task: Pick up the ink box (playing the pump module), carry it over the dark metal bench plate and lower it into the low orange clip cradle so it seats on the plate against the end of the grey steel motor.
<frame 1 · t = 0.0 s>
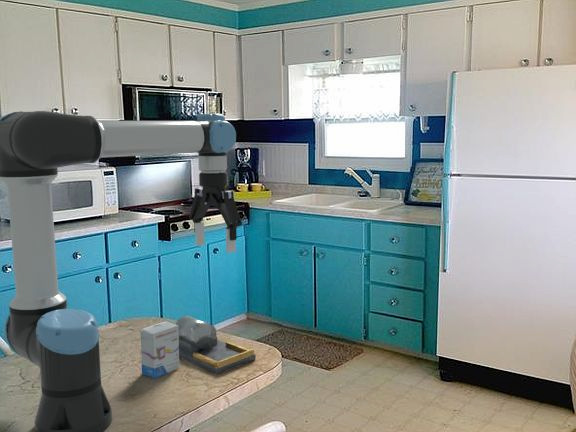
hand: (215, 248, 164), 28 cm above the table, fingers open, 13 cm apart
motor unit: (208, 354, 161), on the table
ink box: (161, 372, 151), on the table
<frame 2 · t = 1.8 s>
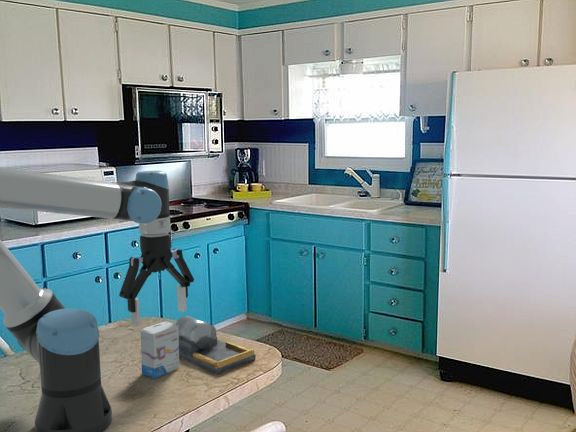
hand: (159, 317, 149), 14 cm above the table, fingers open, 13 cm apart
nothing on the table moved.
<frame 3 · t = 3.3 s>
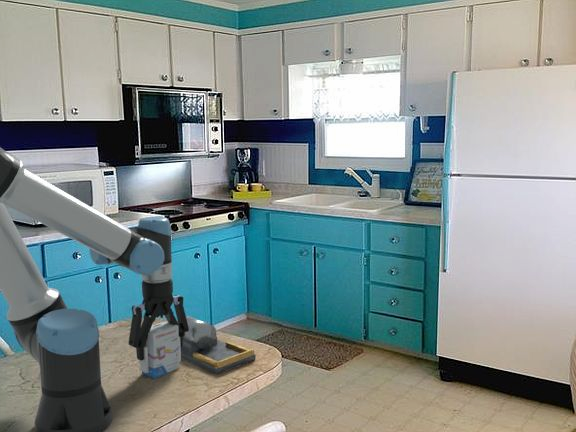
hand: (160, 365, 150), 1 cm above the table, fingers closed on ink box, 9 cm apart
ink box: (161, 372, 151), on the table, touching gripper
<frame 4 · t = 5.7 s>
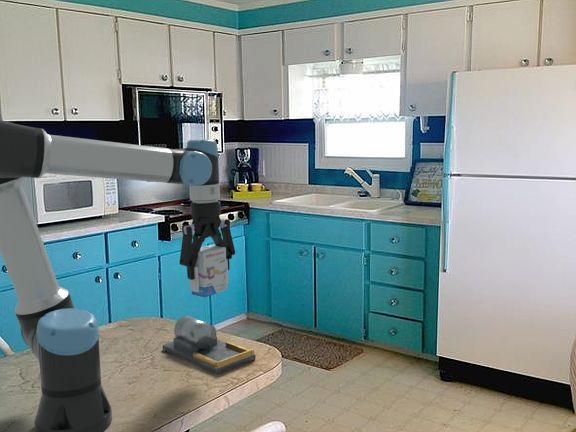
hand: (209, 286, 154), 20 cm above the table, fingers closed on ink box, 9 cm apart
ink box: (210, 293, 154), point 19 cm above the table, touching gripper
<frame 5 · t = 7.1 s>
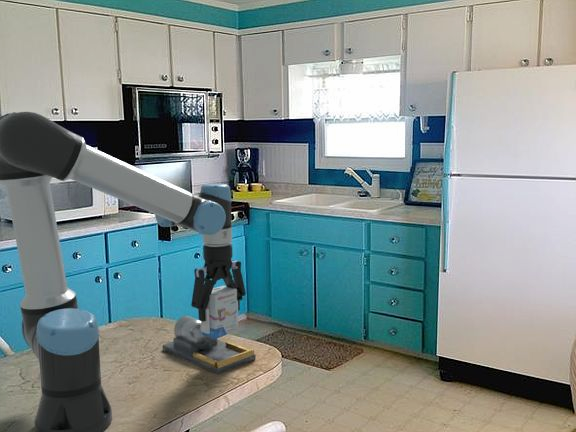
hand: (220, 327, 156), 9 cm above the table, fingers closed on ink box, 9 cm apart
ink box: (220, 333, 156), point 7 cm above the table, touching gripper
when the fingers open (5 cm above the table, at t = 8.2 s): ink box drops 2 cm, resting on motor unit.
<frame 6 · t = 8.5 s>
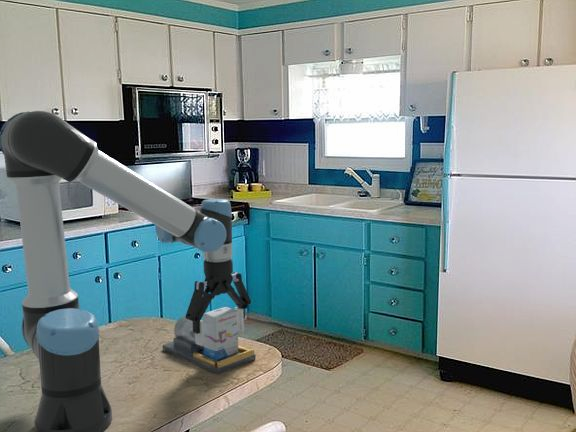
hand: (220, 337, 157), 6 cm above the table, fingers open, 13 cm apart
ink box: (221, 355, 157), point 1 cm above the table, touching motor unit
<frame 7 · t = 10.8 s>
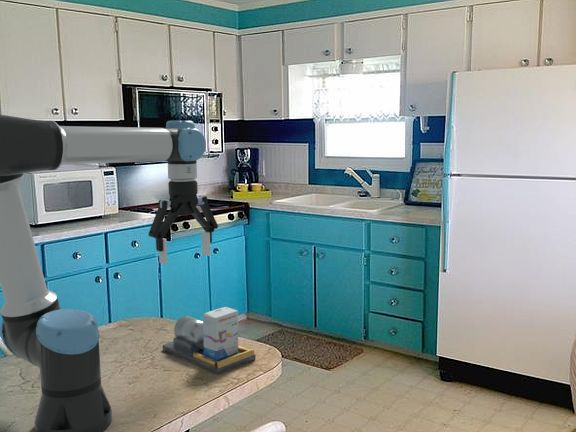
hand: (185, 259, 159), 26 cm above the table, fingers open, 13 cm apart
nothing on the table moved.
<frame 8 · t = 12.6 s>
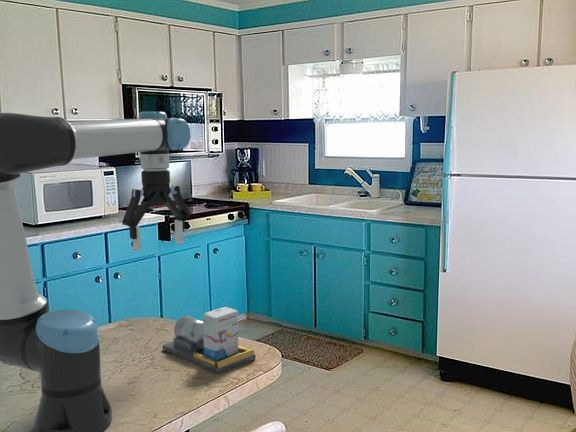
hand: (158, 247, 163), 29 cm above the table, fingers open, 13 cm apart
nothing on the table moved.
at the end: ink box 0.3 cm from the target spot on the motor unit, point 1.3 cm above the motor unit's base; ink box tilted 0°; the gripper is holding nothing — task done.
